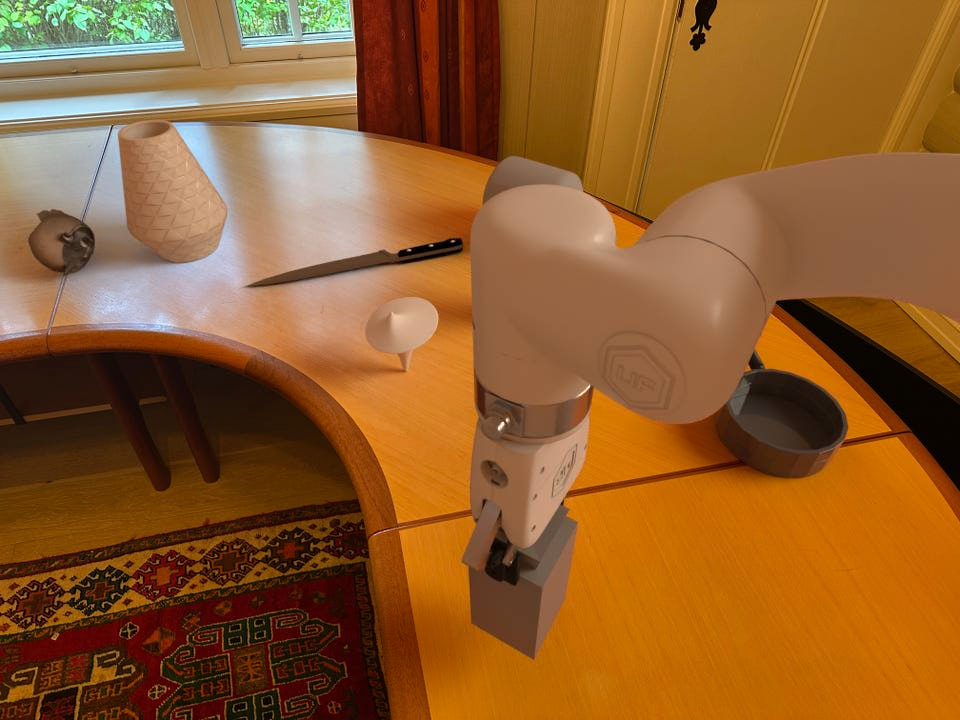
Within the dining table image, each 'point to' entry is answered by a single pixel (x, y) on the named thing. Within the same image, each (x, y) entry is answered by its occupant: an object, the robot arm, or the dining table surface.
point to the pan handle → (755, 361)
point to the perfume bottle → (527, 589)
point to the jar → (527, 176)
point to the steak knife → (370, 260)
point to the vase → (168, 193)
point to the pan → (781, 424)
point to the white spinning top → (401, 327)
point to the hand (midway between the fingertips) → (523, 536)
